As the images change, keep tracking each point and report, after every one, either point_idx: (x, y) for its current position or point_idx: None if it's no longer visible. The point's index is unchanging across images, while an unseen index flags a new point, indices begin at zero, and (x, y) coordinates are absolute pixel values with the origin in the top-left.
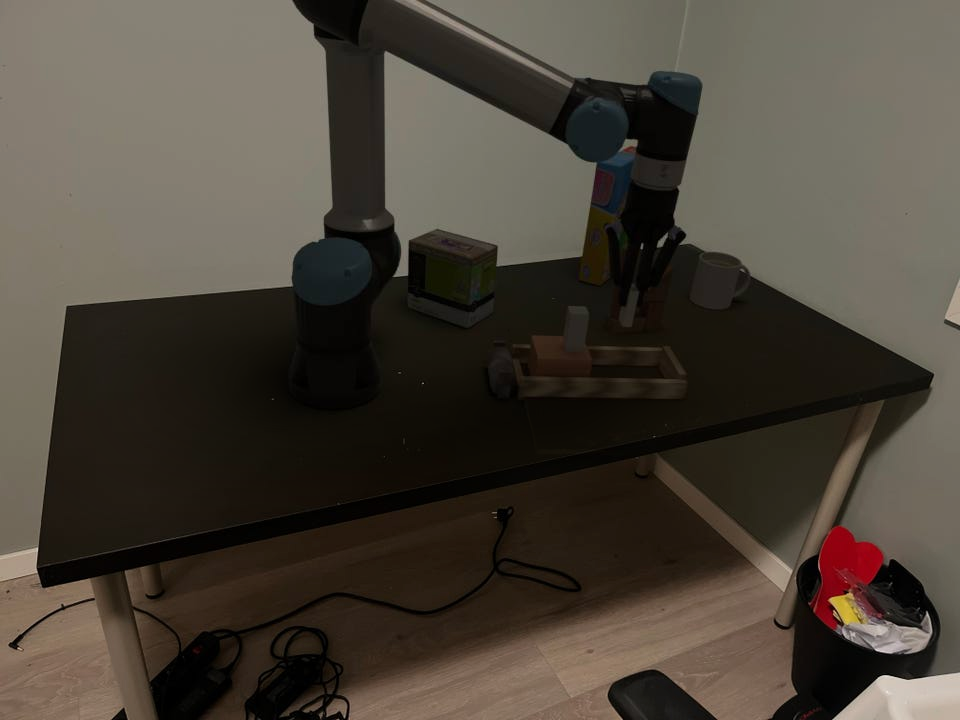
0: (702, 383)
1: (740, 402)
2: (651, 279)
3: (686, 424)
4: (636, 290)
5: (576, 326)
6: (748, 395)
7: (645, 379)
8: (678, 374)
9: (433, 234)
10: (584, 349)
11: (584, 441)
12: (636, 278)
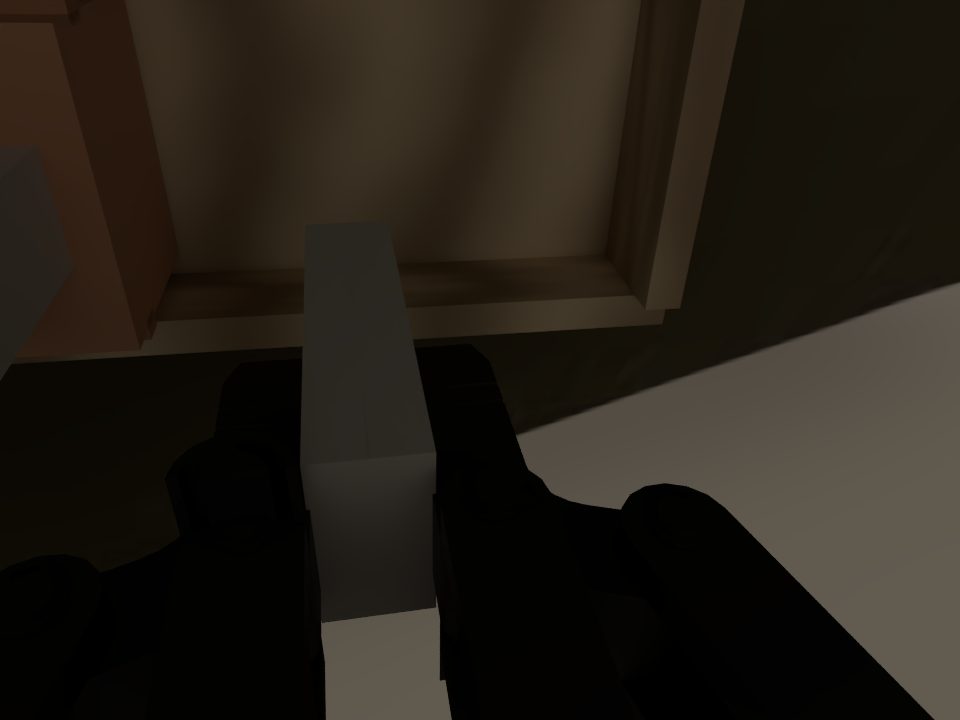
0: (805, 98)
1: (867, 246)
2: (627, 668)
3: (573, 398)
4: (404, 600)
5: None
6: (939, 192)
7: (465, 313)
8: (643, 293)
9: None
10: (80, 230)
11: (169, 518)
12: (448, 543)
